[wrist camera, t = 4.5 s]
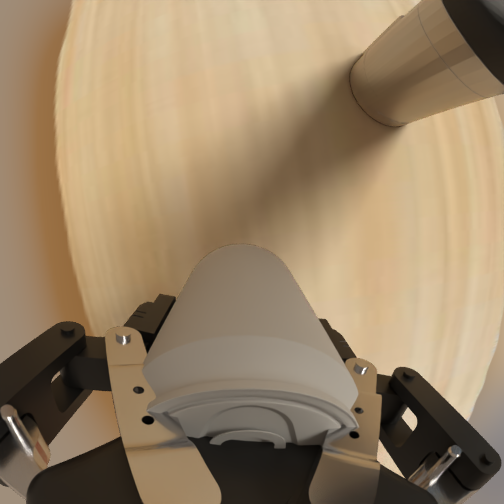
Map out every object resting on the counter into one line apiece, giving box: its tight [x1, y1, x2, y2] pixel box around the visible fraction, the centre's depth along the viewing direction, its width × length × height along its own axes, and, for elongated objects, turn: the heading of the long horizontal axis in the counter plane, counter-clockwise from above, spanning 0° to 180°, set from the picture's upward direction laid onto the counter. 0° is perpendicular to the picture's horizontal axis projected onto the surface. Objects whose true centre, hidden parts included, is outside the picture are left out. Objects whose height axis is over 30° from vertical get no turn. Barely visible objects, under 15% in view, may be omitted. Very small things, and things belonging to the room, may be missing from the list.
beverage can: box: [142, 244, 359, 448], centre depth 11 cm, size 6×6×12 cm
